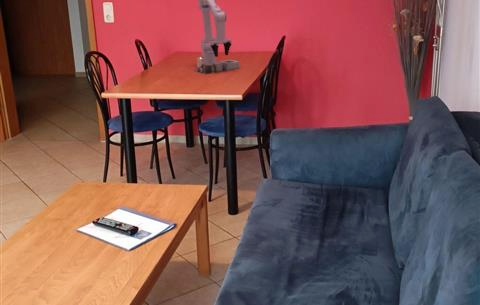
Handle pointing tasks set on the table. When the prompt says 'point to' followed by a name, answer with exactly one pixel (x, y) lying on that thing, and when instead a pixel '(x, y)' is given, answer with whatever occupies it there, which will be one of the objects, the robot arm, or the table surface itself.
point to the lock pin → (209, 68)
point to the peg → (200, 63)
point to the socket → (230, 64)
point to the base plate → (212, 71)
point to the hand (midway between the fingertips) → (221, 55)
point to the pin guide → (217, 66)
